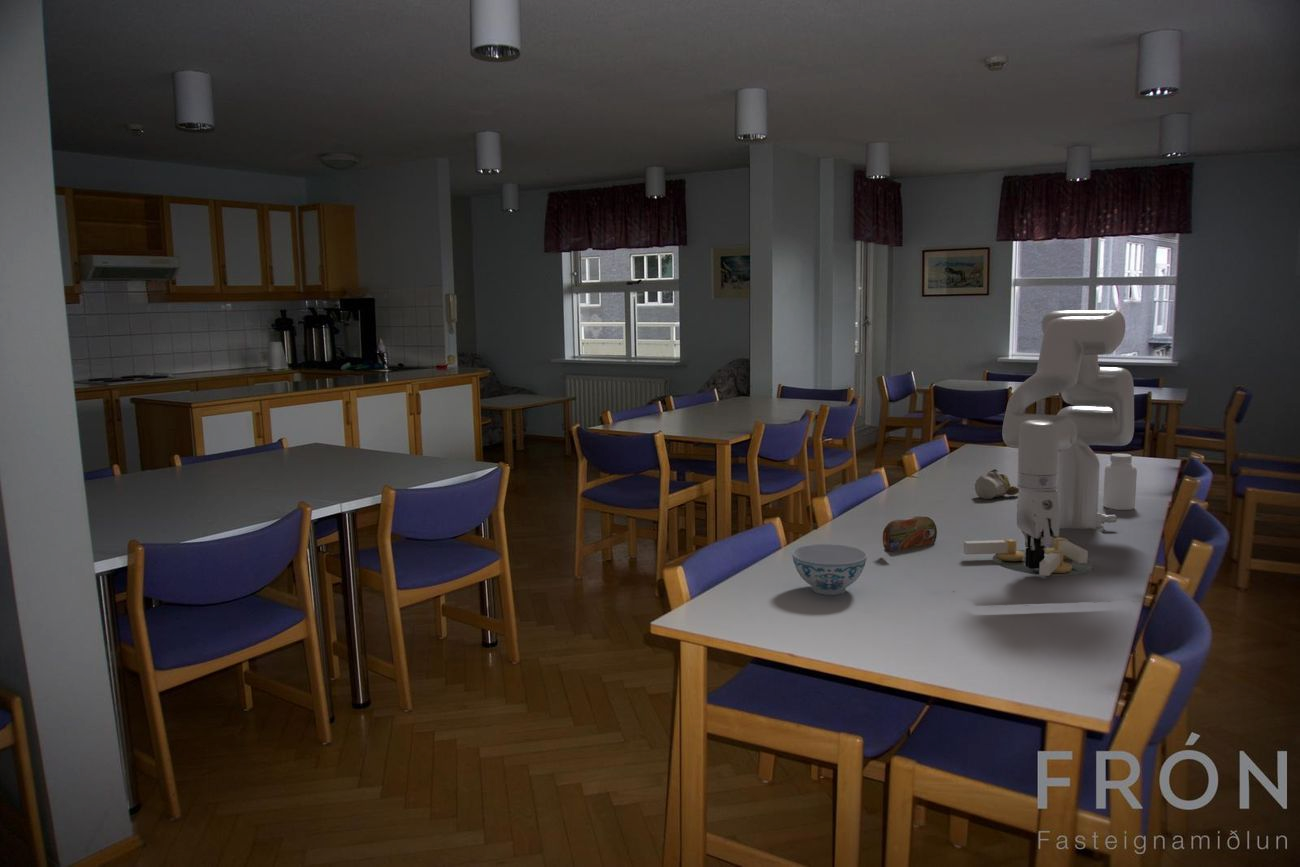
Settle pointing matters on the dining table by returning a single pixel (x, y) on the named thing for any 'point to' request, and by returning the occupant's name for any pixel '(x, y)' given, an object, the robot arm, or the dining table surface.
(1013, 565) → the level base
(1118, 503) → the pill bottle
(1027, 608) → the dining table surface
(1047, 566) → the knob front
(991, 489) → the ceramic sculpture
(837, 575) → the chinaware
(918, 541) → the tin
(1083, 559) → the knob right
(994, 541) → the knob left
